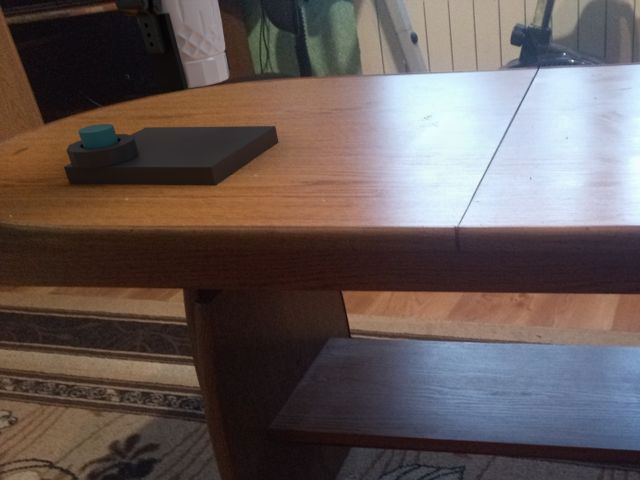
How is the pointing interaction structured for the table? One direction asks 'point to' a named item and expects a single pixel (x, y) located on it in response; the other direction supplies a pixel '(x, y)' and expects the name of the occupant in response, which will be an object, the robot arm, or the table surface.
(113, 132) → the button
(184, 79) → the robot arm
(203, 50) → the white cup
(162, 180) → the scale
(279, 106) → the table surface
